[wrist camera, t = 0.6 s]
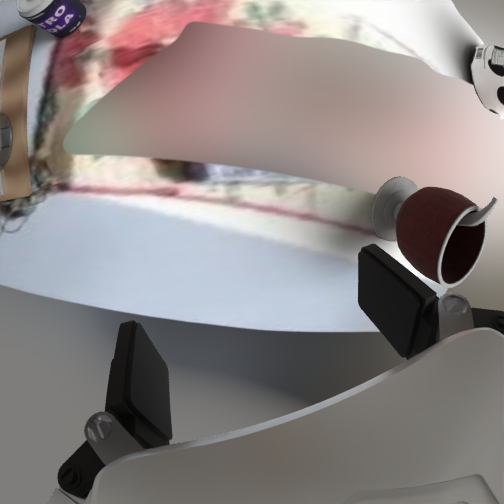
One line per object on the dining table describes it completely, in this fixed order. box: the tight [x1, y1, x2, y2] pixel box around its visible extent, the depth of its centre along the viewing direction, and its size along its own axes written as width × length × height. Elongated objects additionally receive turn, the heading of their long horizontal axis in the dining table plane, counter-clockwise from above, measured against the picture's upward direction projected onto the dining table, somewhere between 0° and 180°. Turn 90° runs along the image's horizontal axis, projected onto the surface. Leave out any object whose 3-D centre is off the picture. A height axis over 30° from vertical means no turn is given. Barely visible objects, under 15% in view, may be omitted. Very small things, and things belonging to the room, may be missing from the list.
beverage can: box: [17, 0, 86, 37], centre depth 16 cm, size 6×6×12 cm
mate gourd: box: [371, 177, 498, 288], centre depth 37 cm, size 16×14×20 cm
